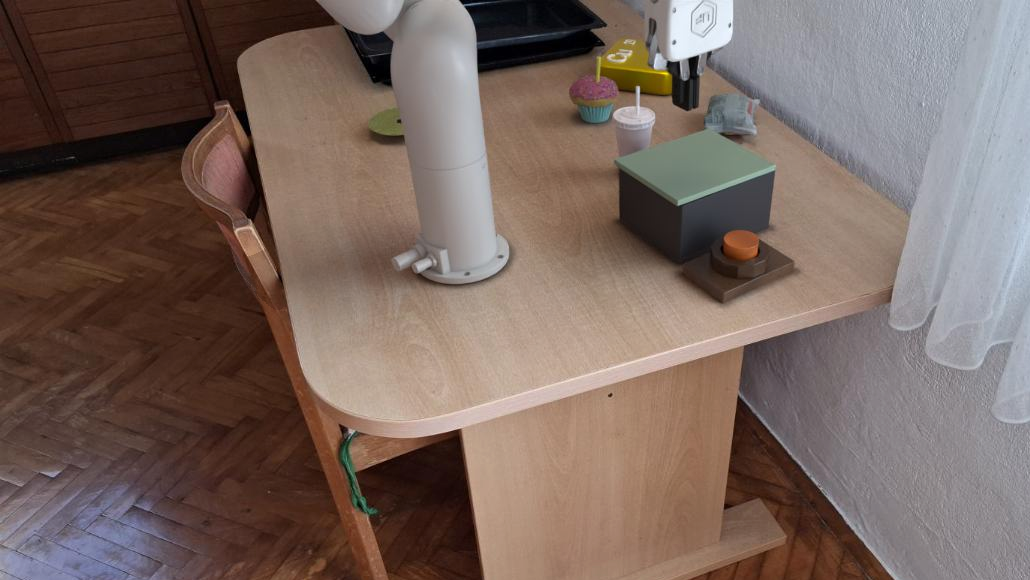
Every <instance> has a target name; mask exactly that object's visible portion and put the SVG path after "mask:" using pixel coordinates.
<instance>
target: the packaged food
mask: <svg viewBox="0 0 1030 580" xmlns="http://www.w3.org/2000/svg"><path fill="white" fill-rule="evenodd" d="M760 103H761V99H758V98H757V99H756V98H755V99H752V98H750V97H748V96H745V95H743V94H740V92H734V93H733V92H732V93H721V94H714V95H712V96H711V97H710V98H709V100H708V105H707V110H706V115H705V116H704V118H703V125H704V126H703V128H704V130H706V129H711V130H713V131H714V132H716V133H718V134H720V135H722V136H747V135H750V136H754V137H756V136H757V134H758V129H757V126H756V125H755V124H754V115H755V111H756V109H757V108H758V106H759V105H760Z"/></svg>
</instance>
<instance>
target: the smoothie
mask: <svg viewBox="0 0 1030 580" xmlns="http://www.w3.org/2000/svg"><path fill="white" fill-rule="evenodd" d="M640 95H641V93H640V86H636V92H635V105H632V106H631V105H630V106H624V107H623V106H622V107H620V108H618V109H616V110H614V112H613V113H612V119H611V121H612V124H613V125H614V128H615V129H614V130H615V136H616V145H617V150H618V158H620V157H623V156H626V155H629V154H632V153H635V152H638V151H641V150H644V149H647V148H650V146H651V140H652V133H653V126H654V124H655V123H656V113H655V111H653V110H652V109H650V108H647V107H645V106H640V105H641V104H640V102H641V101H640V100H641V97H640Z"/></svg>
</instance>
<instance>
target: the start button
mask: <svg viewBox="0 0 1030 580" xmlns="http://www.w3.org/2000/svg"><path fill="white" fill-rule="evenodd" d="M759 239H760V238H759V236H757V234H756V233H755V234H754V233H752V232H749V231H745V230H735V231H731V232H728V233H727V234H726V235H725V236H724V241H723V254H724V255H725V256H726V257H728V258H730V259H734V260H738V261H743V260H751V259H753V258H755V257H756V256H757V254H758V245H759Z"/></svg>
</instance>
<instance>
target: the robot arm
mask: <svg viewBox="0 0 1030 580" xmlns="http://www.w3.org/2000/svg"><path fill="white" fill-rule="evenodd" d="M644 1H645V2H644V15H643V16H644V17H643V38H644V39H643V40H644V41H645V47H646V50H647V51H649V57H648V63H647V65H648V66H649V67H650V68H652V69H655V70H667V72H668V73H669V74H671V75H672V94H671V103H672V105H673V106H675V107H677V108H679V109H681V110H683V111H685V112H690V111H692V110H696V109H699V107H700V85H701V84H700V82H701V81H700V80H701V76H702V75H704V73H706V72H705V71H706V65H707V63H708V62H709V60H710V58H711V57H712V56H713V55H714V54H716V53H717V52H719V51H720V50H722V49H723V48H724V47H725V46H726V45H727V44H728V43H730V42H731V40H732V37H733V31H734V0H644ZM315 2H317V3H318V4H319V5H320V6H321V7H322V8H323V9H324V10H325V11H326V12H327V13H328V14H329V15H330V16H331V17H332V18H333V19H334V20H335V21H336V22H337V23H338V24H340V25H341V26H343V27H344V28H346V29H347V30H349V31H351V32H354V33H355V34H360V35H364V36H365V35H366V36H370V35H376V34H379V33H381V32H383V33H384V34H385V35H386V36H387V37H388V38H389V39H390V40H391V41H392V42H393V44H392V48H391V55H390V79H391V86H392V90H393V95H394V99H395V103H396V107H397V108H398V110H399V114H400V118H401V123H402V127H403V132H404V135H403V137H404V142H405V148H406V154H407V158H408V163H409V168H410V169H409V170H410V174H411V180H412V186H413V192H414V198H415V202H416V209H417V214H418V219H419V226H420V233H418V234H416V235H414V241H415V244H413V245H412V246H411V247H410V249H409V250H408V251H405V252H402V253H400V254H398V255H396V256H394V257H392V258H391V259H390V260H391V261H390V262H391V265H392V267H393V269H394V270H395V271H396V272H401V271H403V270H406V269H407V268H410V267H411V269H412V270H413V272H414V273H415V274H421V276H423V277H424V278H426V279H428V280H431V281H433V282H435V283H441V284H446V285H448V284H449V285H464V284H472V283H476V282H480V281H482V280H486V279H488V278H490V277H491V276H493V275H495V274H497V273H498V272H499V271H501V270H502V269H503V268H504V267H505V266H506V265H507V263H508V261H509V260H510V259H509V258H510V247H509V243H508V241H507V240H506V238H505V237H504V236H503V235H501V234H500V233H498V232H497V231H496V226H495V217H494V208H493V207H494V206H493V197H492V190H491V180H490V172H489V171H490V170H489V163H488V162H489V161H488V154H487V148H486V147H487V145H486V138H485V130H484V129H485V128H484V122H483V112H482V105H481V97H480V87H479V86H480V83H479V71H478V47H477V46H478V45H477V32H476V27H475V24H474V20H473V19H472V16H471V15H470V13H469V11H468V10H467V9H466V7H465V6H464V5H463V3H462V2H461V1H460V0H315Z"/></svg>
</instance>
